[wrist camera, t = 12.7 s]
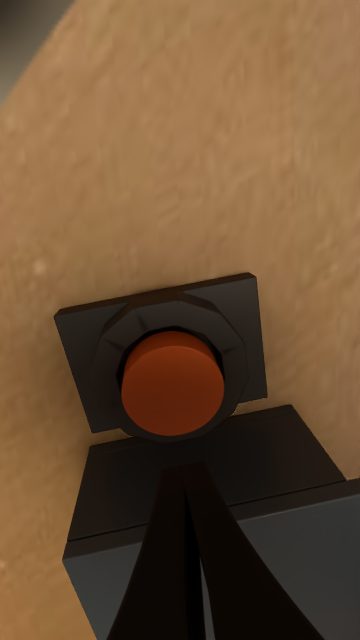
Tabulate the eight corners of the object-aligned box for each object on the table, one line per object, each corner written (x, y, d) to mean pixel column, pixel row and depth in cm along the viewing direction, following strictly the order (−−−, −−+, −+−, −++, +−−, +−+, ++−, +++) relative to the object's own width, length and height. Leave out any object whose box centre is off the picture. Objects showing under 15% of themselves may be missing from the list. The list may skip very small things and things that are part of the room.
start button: (209, 322, 14) (217, 336, 13) (221, 402, 16) (230, 425, 14) (114, 340, 14) (109, 357, 13) (135, 420, 16) (134, 445, 14)
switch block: (249, 269, 16) (269, 281, 14) (261, 388, 19) (280, 419, 16) (58, 306, 16) (39, 326, 13) (95, 422, 19) (86, 460, 16)
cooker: (291, 404, 20) (347, 479, 14) (300, 535, 23) (346, 634, 18) (89, 446, 19) (66, 540, 14) (132, 572, 23) (127, 684, 18)
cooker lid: (364, 475, 14) (376, 490, 13) (359, 630, 18) (369, 649, 17) (65, 541, 14) (60, 561, 13) (127, 686, 18) (126, 707, 17)
